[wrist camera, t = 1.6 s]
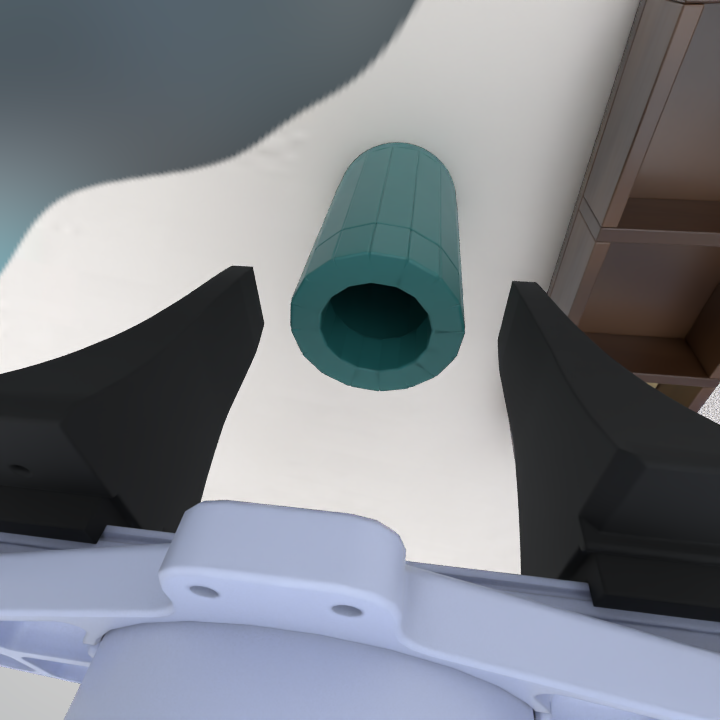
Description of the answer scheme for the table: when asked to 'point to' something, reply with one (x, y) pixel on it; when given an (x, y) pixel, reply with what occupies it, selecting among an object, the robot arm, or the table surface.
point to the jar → (384, 274)
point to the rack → (654, 208)
